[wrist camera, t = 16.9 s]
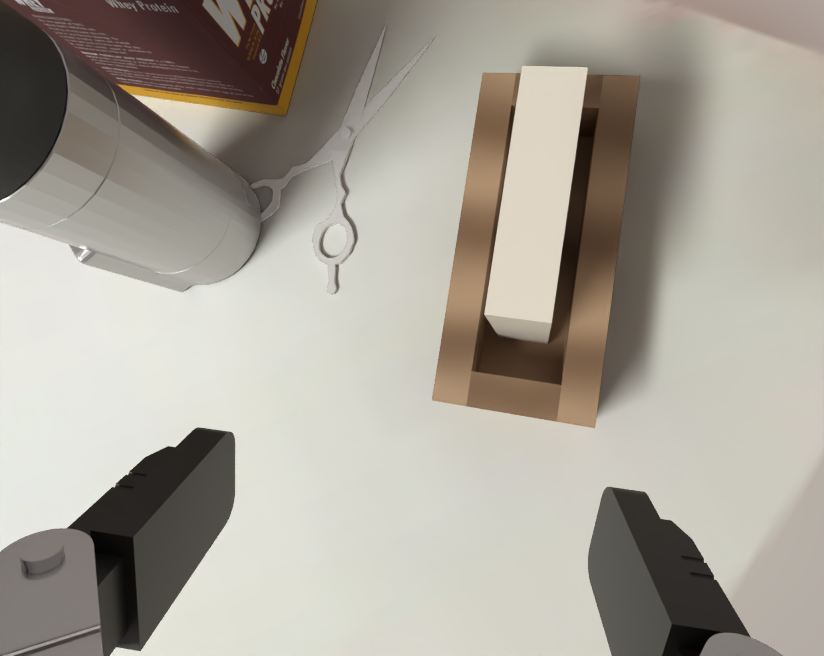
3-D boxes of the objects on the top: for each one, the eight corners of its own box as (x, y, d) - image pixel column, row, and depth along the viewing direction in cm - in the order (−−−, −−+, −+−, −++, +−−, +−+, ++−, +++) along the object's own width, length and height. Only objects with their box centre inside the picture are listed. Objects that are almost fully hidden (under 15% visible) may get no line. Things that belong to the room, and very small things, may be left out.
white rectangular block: (547, 344, 33) (551, 323, 24) (499, 337, 34) (484, 314, 25) (573, 159, 34) (588, 67, 25) (526, 156, 35) (522, 65, 26)
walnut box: (587, 423, 34) (594, 428, 29) (445, 399, 36) (431, 400, 31) (626, 117, 35) (640, 75, 31) (489, 112, 37) (482, 72, 33)
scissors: (220, 229, 41) (352, -2, 41) (226, 232, 42) (355, 5, 41) (332, 295, 38) (474, 48, 38) (336, 297, 39) (475, 55, 39)
